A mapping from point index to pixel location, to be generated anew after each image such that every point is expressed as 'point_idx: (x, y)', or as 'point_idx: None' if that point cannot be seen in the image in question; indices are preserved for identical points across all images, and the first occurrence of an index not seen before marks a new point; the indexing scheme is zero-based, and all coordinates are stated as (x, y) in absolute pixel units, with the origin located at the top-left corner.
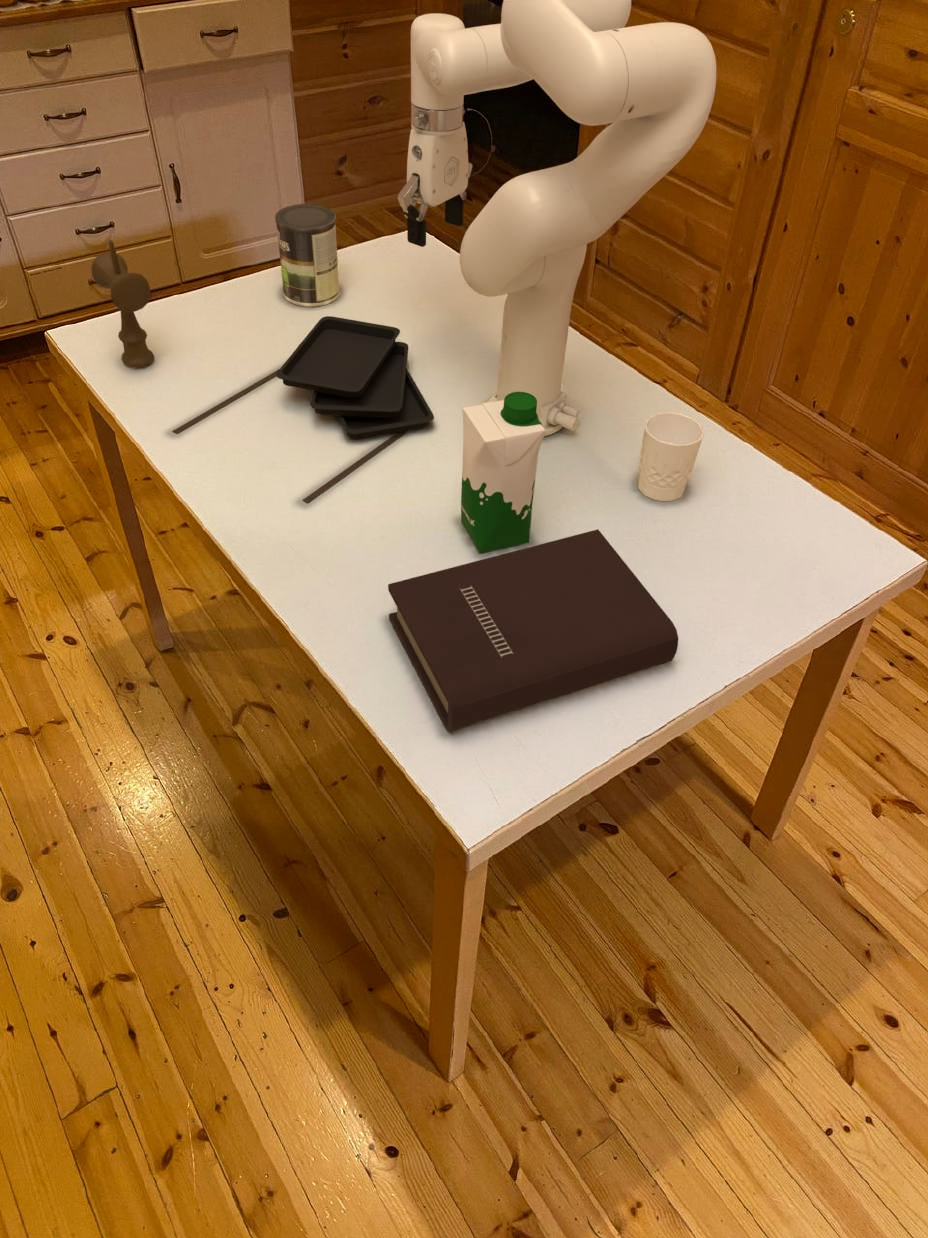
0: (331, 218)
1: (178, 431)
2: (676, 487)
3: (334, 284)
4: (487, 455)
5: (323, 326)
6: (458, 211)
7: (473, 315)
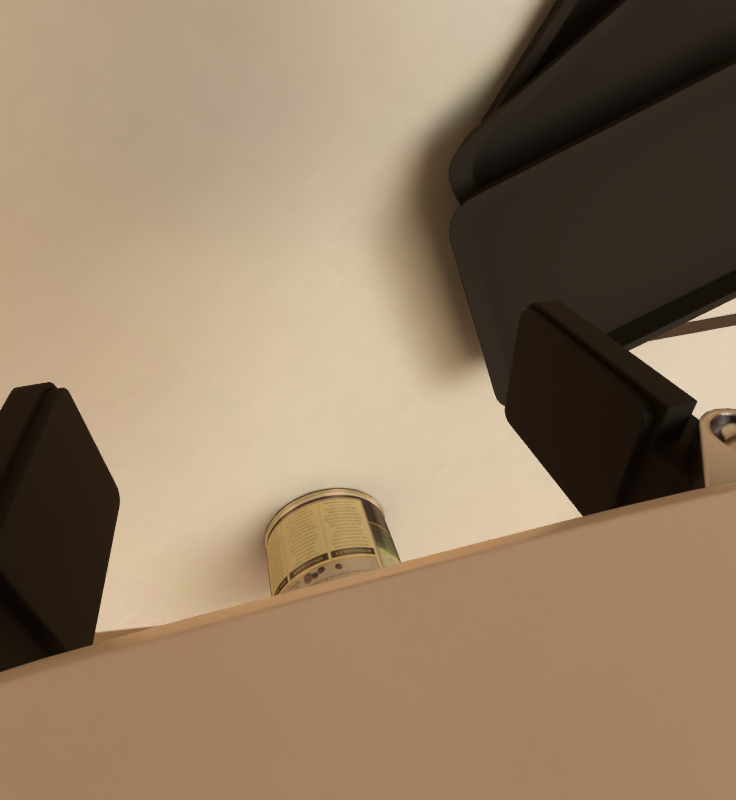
0: None
1: None
2: None
3: (315, 522)
4: None
5: None
6: (35, 485)
7: (8, 212)
